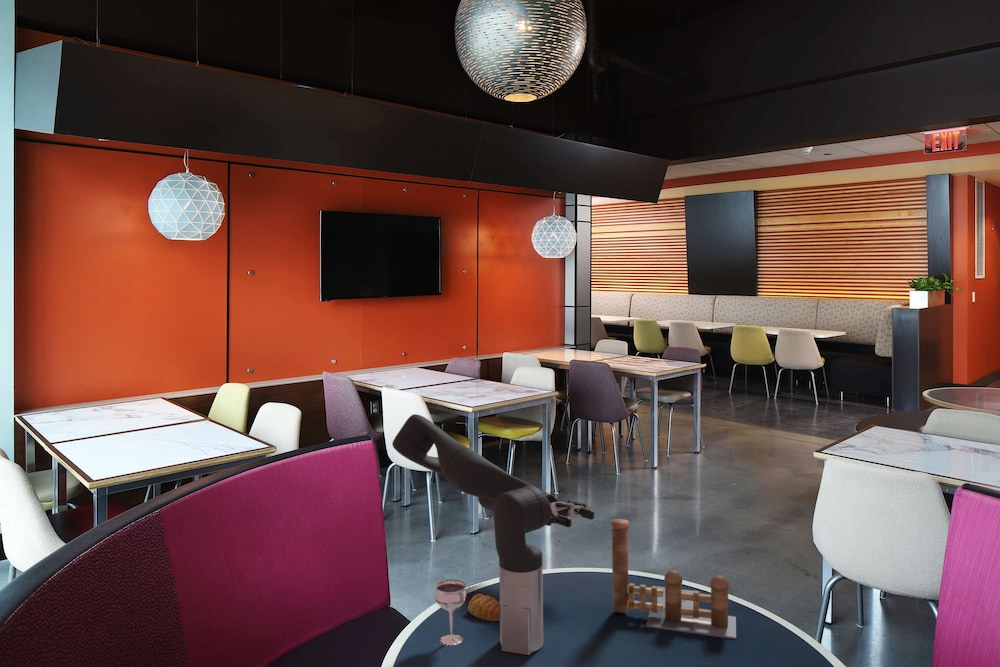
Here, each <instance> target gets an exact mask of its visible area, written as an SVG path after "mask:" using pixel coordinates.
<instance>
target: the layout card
mask: <svg viewBox="0 0 1000 667" xmlns="http://www.w3.org/2000/svg"><path fill="white" fill-rule="evenodd" d="M656 586H657V585H656ZM657 588H658V589H663V597H657V603H659V604H663V612H657V613H652V611H648V612H649V613H648V616H647V621H646V626H645V627H646V628H651V629H659V630H664V631H665V630H666V631H674V632H679V633H687V634H696V635H702V636H710V637H716V638H717V637H718V638H725V639H733V640H737V617H736V616H733V615H728V627H727V628H716V627H714V626H712V625H711V618H703V617H699V619H697V618H693V616H687V615H682V617H681V621H680V622H670V621H668V620H666V619H665V586H659V585H658V586H657ZM682 591H683V592H692V593H693V591H694V590H691V589H690V590H689V589H682ZM682 606H683V607H691V608H693V601H689V600H682Z"/></svg>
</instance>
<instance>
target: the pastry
mask: <svg viewBox="0 0 1000 667" xmlns="http://www.w3.org/2000/svg"><path fill="white" fill-rule="evenodd" d="M467 610H468V612H469V613H470V615H472V616H473V617H475V618H477V617H478V619H481V620H484V619H485V621H488V620H489V622H500V600H497V599H496V598H495V597H492V596H491V595H488V594H487V595H484V594H483V593H476V594H475V595H473V596H472V598H470V600H469V603H468V606H467Z"/></svg>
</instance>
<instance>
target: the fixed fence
mask: <svg viewBox="0 0 1000 667" xmlns="http://www.w3.org/2000/svg"><path fill="white" fill-rule="evenodd" d="M663 580H664V587H665V619H666V620H668V621H670V622H680V621H681V617H682V615H687V616H693V618H697V619H699V617H703V618H711V625H712V626H714V627H716V628H727V627H728V616H729V588H730V584H729V580H728V579H727V577H725V576H723V575H719V574H718V575H717V574H716V575H714V576H712V578H710V582H709V585H710V589H711V590H710V594H709V593H708V594H706V593H700V591H698V590H692V591H693V593H692V592H683V591H682V586H683V585H682V584H683V577H682V574H681V573H680V572H679V571H678V570H674V569H671V570H668V571H667V572H666V573H665V574H664V579H663ZM682 600H689V601H693V608H691V607H683V606H682ZM700 603H705V604H707V603H708V604H710V609H707V608H706V609H705V608H700Z"/></svg>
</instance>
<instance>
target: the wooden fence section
mask: <svg viewBox="0 0 1000 667" xmlns="http://www.w3.org/2000/svg"><path fill="white" fill-rule="evenodd" d="M610 523H611V524H610V527H611V533H612V534H611V537H612V538H611V539H612V540H611V548H612V549H611V550H612V551H611V552H612V554H611V555H612V556H611V558H612V560H611V561H612V564H611V565H612V583H611V586H612V587H611V588H612V589H611V590H612V591H611V592H612V610H613V611H614V612H616V613H627V612H628V611H629V610H630V611H634V610H639V611H640V612H646V611H648V612H650V611H652V613H657V612H663V604H659V603H657V597H663V589H658V588H657V585H652V586H651V587H648V586H647V585H646V584H643V583H642V584H641V583H640V585H639V586H638V585H635V583H631V582H629V528H630V522H629V520H627V519H623V518H614V519H612V520H611V521H610ZM635 595H639V600H635ZM647 596H650V597H651V602H649V601H647Z"/></svg>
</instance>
